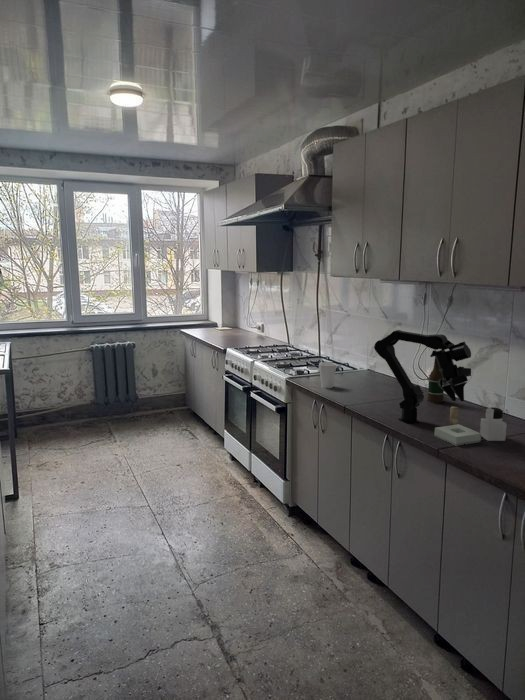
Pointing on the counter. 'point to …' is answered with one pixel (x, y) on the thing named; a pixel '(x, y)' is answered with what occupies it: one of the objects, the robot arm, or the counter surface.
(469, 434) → the bore block
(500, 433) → the medicine bottle
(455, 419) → the dowel
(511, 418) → the counter surface
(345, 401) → the counter surface
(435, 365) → the beer bottle
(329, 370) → the foam cup
